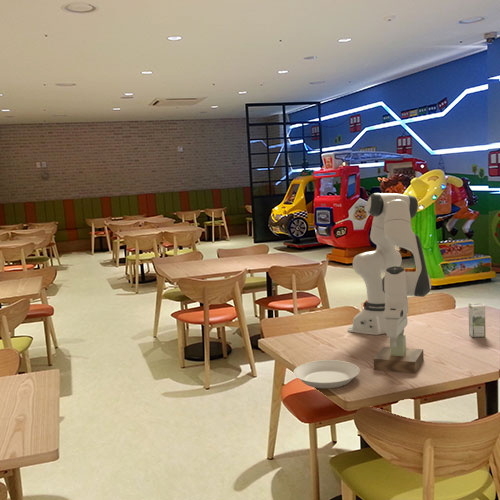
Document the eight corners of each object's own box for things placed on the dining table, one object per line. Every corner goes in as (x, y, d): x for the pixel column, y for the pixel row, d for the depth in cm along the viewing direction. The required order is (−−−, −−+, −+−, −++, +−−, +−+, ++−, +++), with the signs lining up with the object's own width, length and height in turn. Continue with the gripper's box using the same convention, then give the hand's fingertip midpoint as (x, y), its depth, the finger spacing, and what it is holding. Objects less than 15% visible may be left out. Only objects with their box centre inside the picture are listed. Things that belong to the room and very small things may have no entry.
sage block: (390, 355, 227) (389, 338, 226) (393, 351, 232) (392, 334, 231) (403, 356, 225) (402, 338, 224) (406, 352, 229) (405, 335, 229)
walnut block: (373, 370, 226) (373, 358, 225) (384, 358, 240) (383, 346, 239) (415, 374, 218) (415, 361, 218) (423, 361, 232) (423, 349, 232)
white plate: (317, 365, 237) (316, 356, 236) (372, 375, 221) (371, 365, 220) (280, 384, 218) (280, 375, 217) (338, 397, 202) (337, 387, 201)
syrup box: (482, 333, 261) (481, 302, 260) (486, 337, 256) (485, 305, 254) (469, 334, 262) (468, 303, 260) (472, 337, 256) (471, 306, 254)
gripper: (395, 302, 237) (396, 334, 238) (382, 314, 219) (383, 349, 220) (410, 302, 234) (411, 335, 235) (398, 315, 216) (400, 350, 218)
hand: (398, 342), depth 228 cm, fingers open, 8 cm apart
